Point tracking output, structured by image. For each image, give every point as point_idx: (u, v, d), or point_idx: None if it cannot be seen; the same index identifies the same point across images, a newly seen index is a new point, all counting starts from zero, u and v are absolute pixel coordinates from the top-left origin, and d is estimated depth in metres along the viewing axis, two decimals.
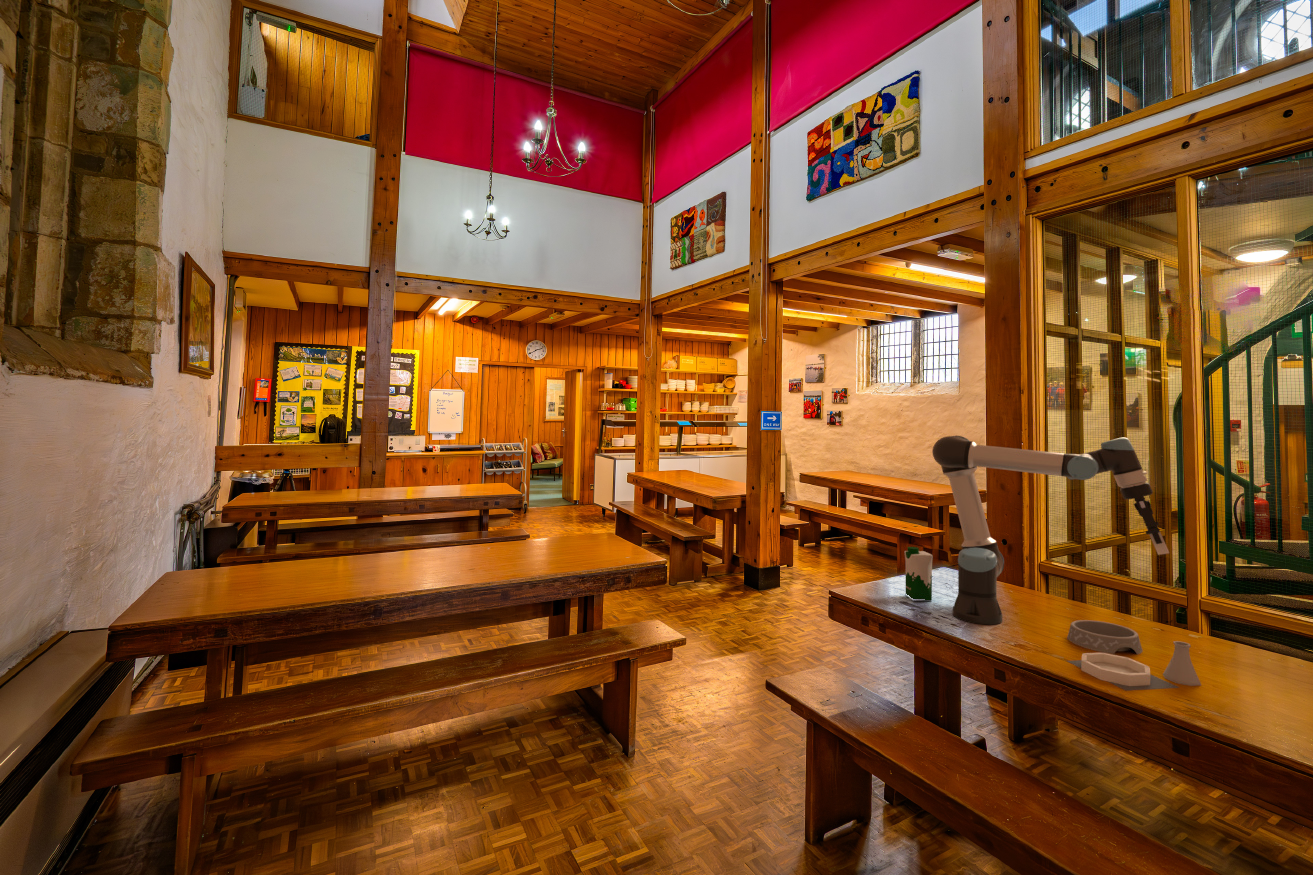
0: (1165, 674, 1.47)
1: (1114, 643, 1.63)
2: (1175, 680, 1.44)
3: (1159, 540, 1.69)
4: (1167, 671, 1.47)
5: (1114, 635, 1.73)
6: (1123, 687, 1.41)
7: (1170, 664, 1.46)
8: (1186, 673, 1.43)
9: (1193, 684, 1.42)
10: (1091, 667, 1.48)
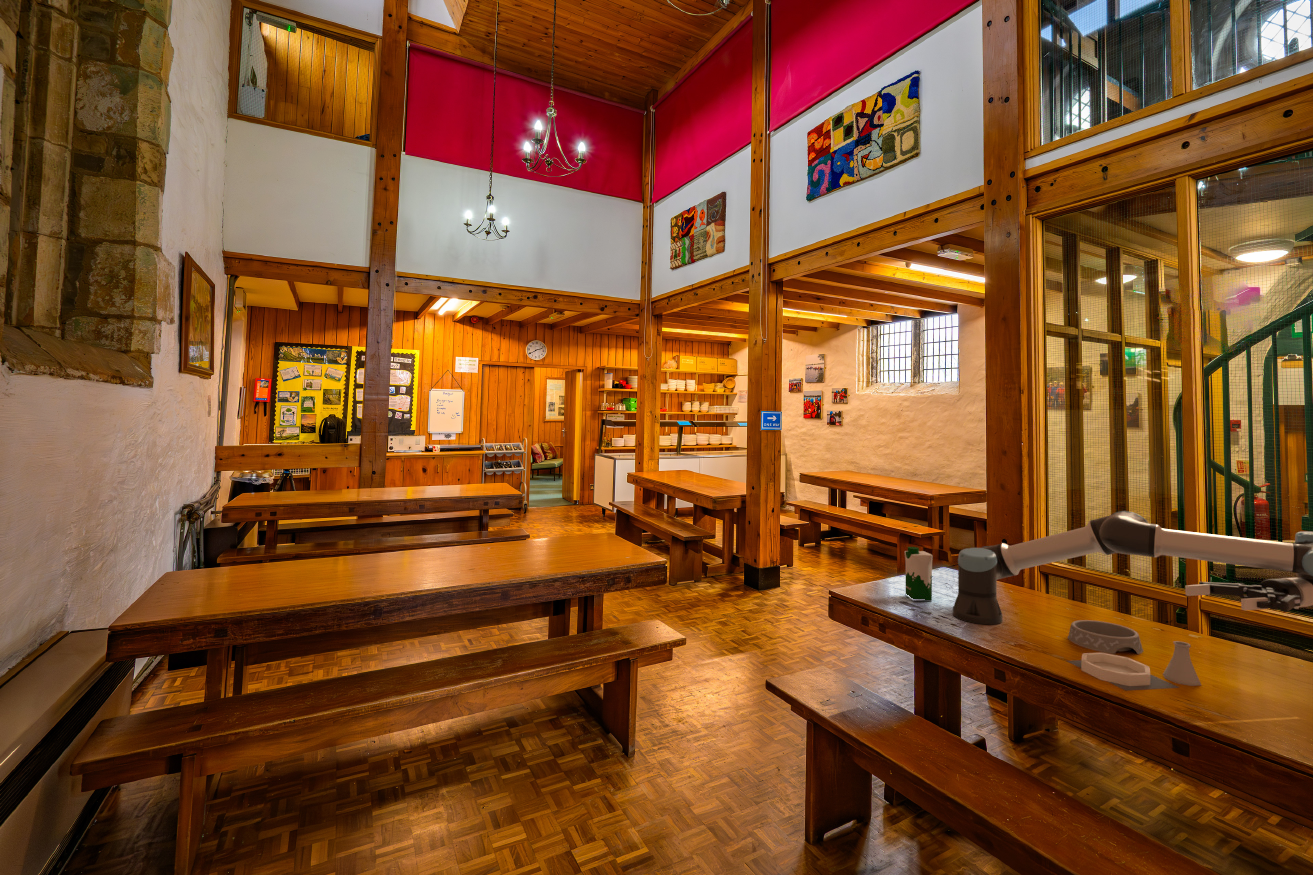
0: (1165, 674, 1.47)
1: (1115, 643, 1.63)
2: (1175, 680, 1.44)
3: (1265, 606, 1.39)
4: (1167, 671, 1.47)
5: (1115, 635, 1.73)
6: (1123, 687, 1.41)
7: (1170, 664, 1.46)
8: (1186, 673, 1.43)
9: (1193, 684, 1.42)
10: (1091, 667, 1.48)
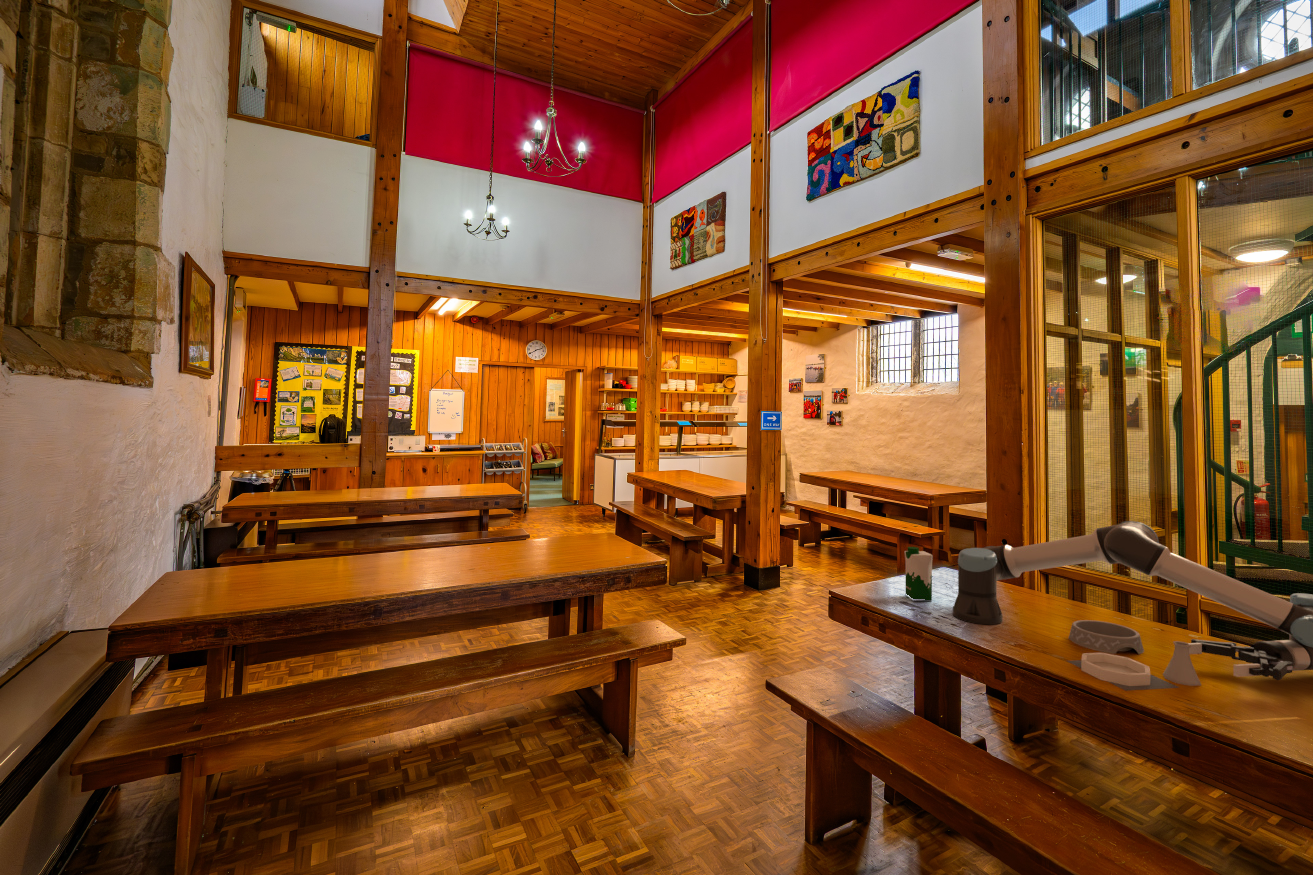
0: (1165, 674, 1.47)
1: (1116, 643, 1.63)
2: (1175, 680, 1.44)
3: (1257, 673, 1.37)
4: (1167, 671, 1.47)
5: (1115, 635, 1.73)
6: (1123, 687, 1.41)
7: (1170, 664, 1.46)
8: (1186, 673, 1.43)
9: (1193, 684, 1.42)
10: (1091, 667, 1.48)
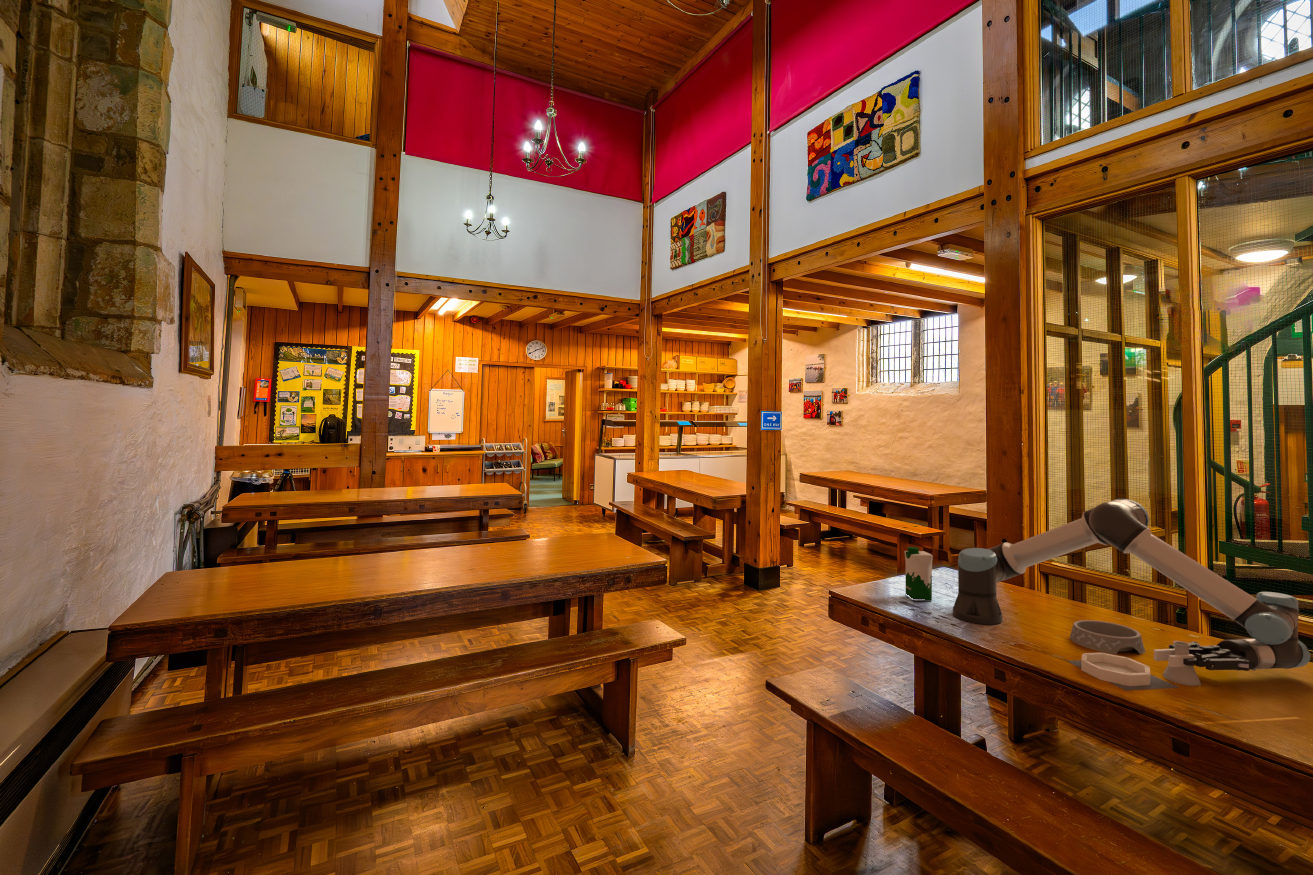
0: (1165, 674, 1.47)
1: (1117, 643, 1.63)
2: (1175, 680, 1.44)
3: (1190, 664, 1.42)
4: (1167, 671, 1.47)
5: (1116, 635, 1.73)
6: (1123, 687, 1.41)
7: None
8: (1186, 673, 1.43)
9: (1193, 684, 1.42)
10: (1091, 667, 1.48)
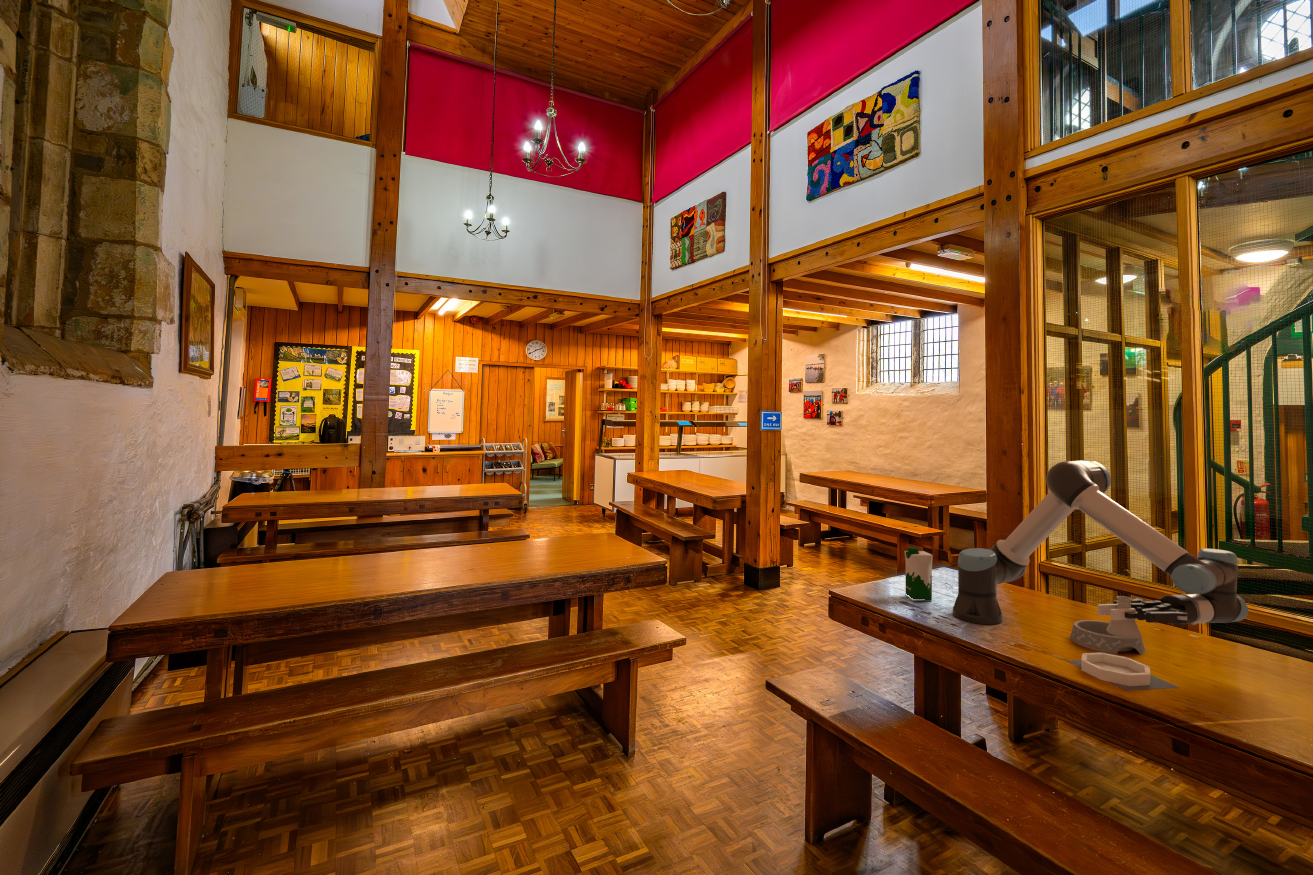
0: (1108, 628, 1.50)
1: (1117, 643, 1.63)
2: (1117, 633, 1.47)
3: (1131, 617, 1.45)
4: (1110, 625, 1.50)
5: None
6: (1123, 687, 1.41)
7: None
8: (1127, 626, 1.46)
9: (1134, 636, 1.45)
10: (1091, 667, 1.48)
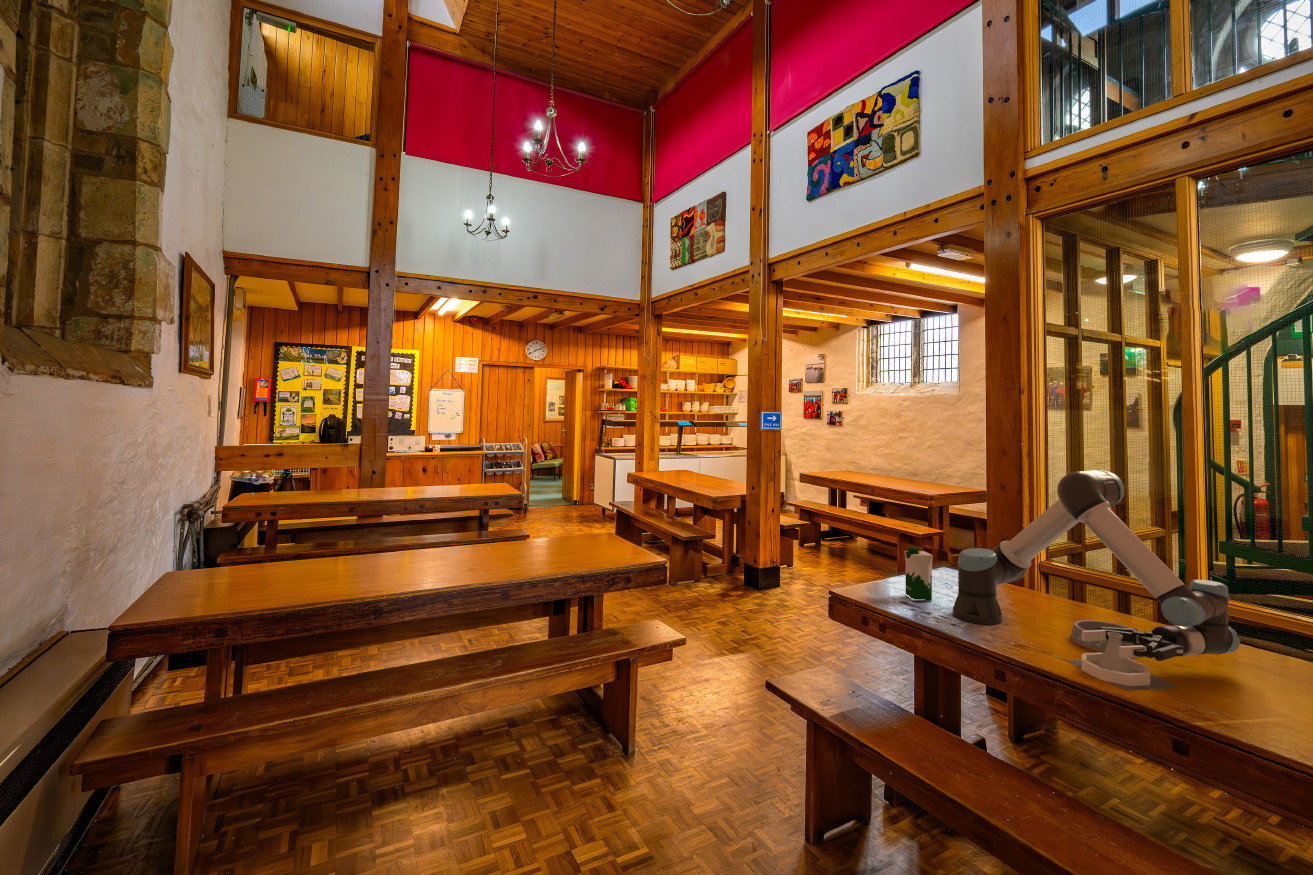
0: (1099, 664, 1.51)
1: None
2: None
3: (1140, 654, 1.42)
4: (1101, 662, 1.50)
5: None
6: (1123, 687, 1.41)
7: (1104, 654, 1.50)
8: (1118, 663, 1.47)
9: None
10: (1091, 667, 1.48)
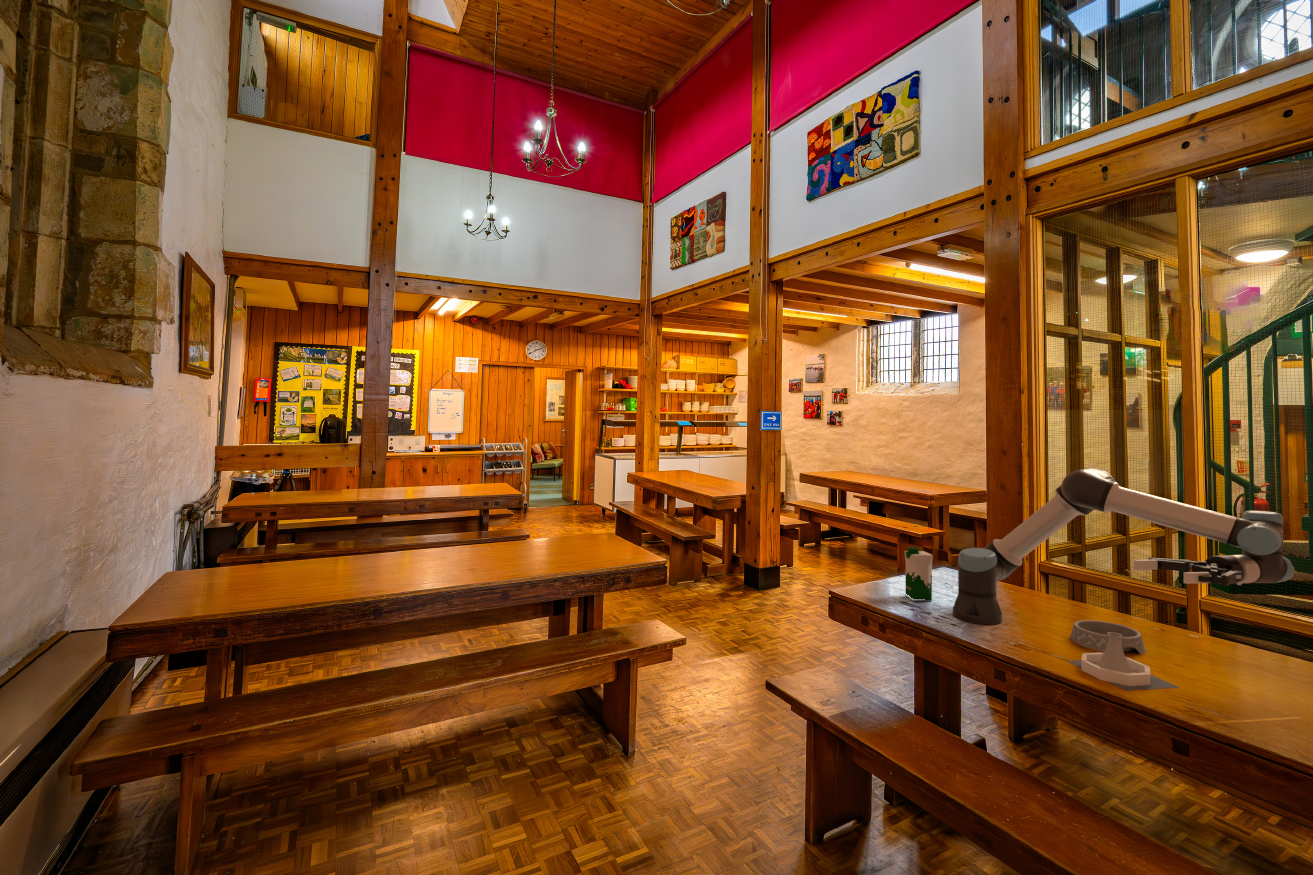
0: (1099, 664, 1.51)
1: None
2: None
3: (1206, 580, 1.42)
4: (1101, 662, 1.50)
5: None
6: (1123, 687, 1.41)
7: (1104, 654, 1.50)
8: (1118, 663, 1.47)
9: None
10: (1091, 667, 1.48)
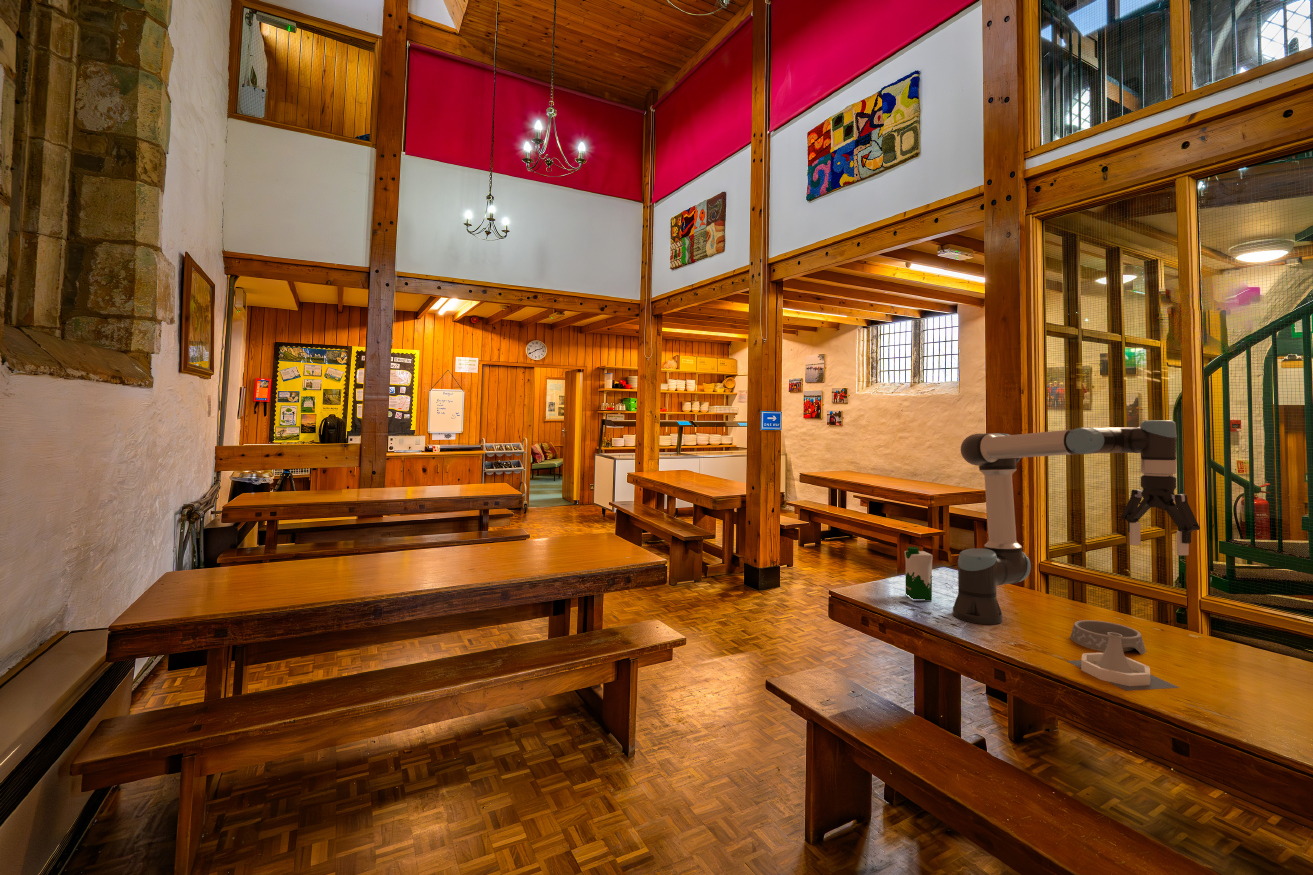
0: (1099, 664, 1.51)
1: None
2: None
3: (1189, 540, 1.49)
4: (1101, 662, 1.50)
5: None
6: (1123, 687, 1.41)
7: (1104, 654, 1.50)
8: (1118, 663, 1.47)
9: None
10: (1091, 667, 1.48)
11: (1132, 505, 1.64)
